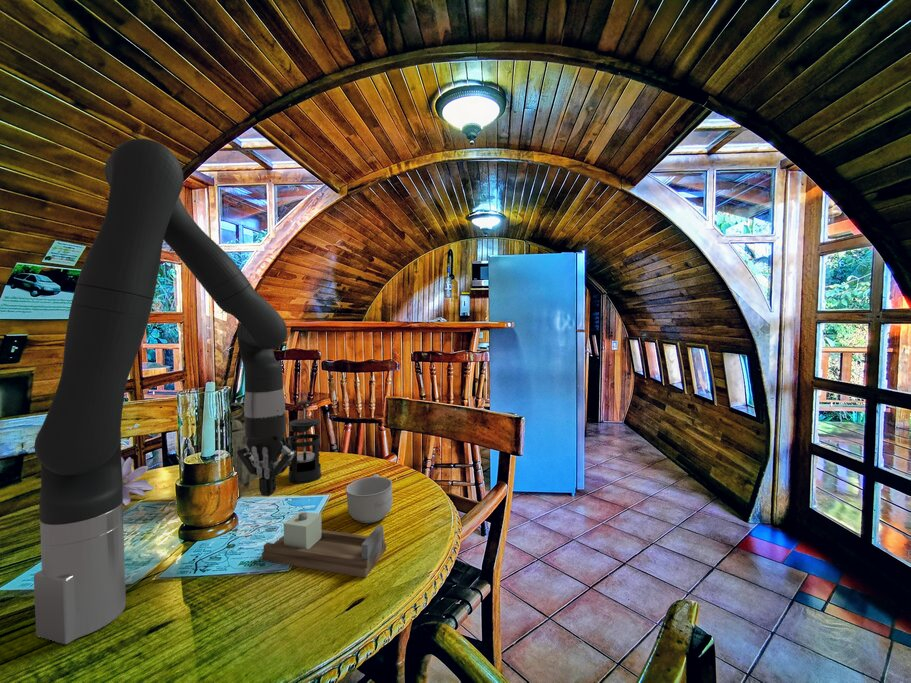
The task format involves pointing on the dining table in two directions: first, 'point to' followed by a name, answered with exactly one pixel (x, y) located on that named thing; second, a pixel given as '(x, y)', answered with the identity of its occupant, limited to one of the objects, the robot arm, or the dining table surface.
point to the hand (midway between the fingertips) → (268, 494)
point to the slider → (302, 530)
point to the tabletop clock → (237, 444)
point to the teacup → (369, 498)
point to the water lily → (133, 486)
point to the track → (332, 552)
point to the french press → (304, 463)
